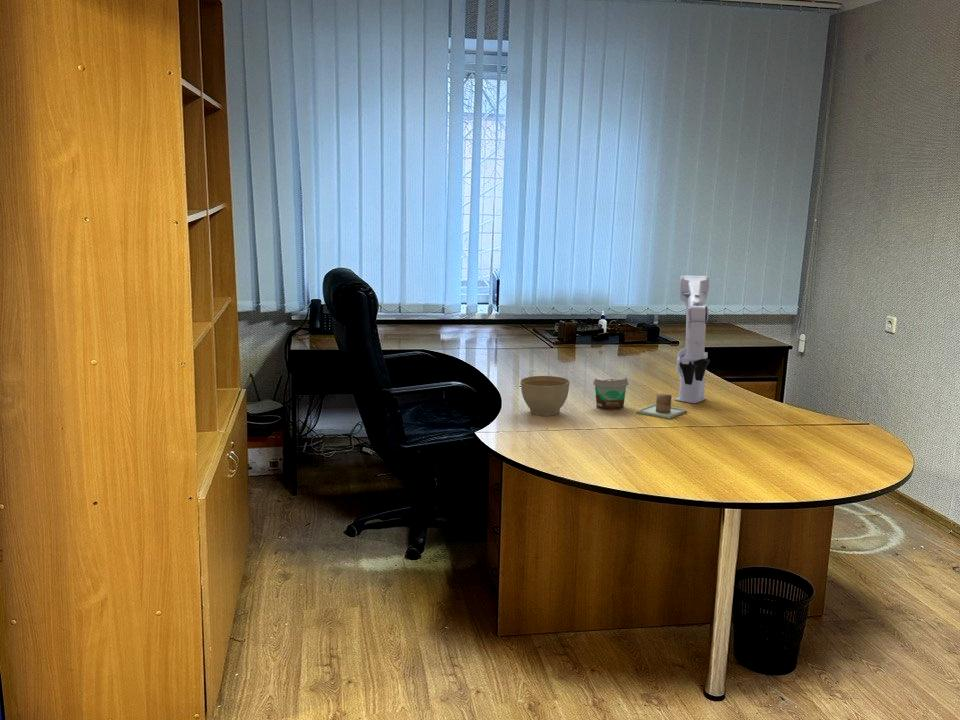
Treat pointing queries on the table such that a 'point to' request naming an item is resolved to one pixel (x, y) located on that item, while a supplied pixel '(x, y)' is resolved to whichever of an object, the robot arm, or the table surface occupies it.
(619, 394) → the food container
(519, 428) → the table surface
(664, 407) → the walnut cylinder
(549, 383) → the planter bowl
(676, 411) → the coaster
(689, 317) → the robot arm
